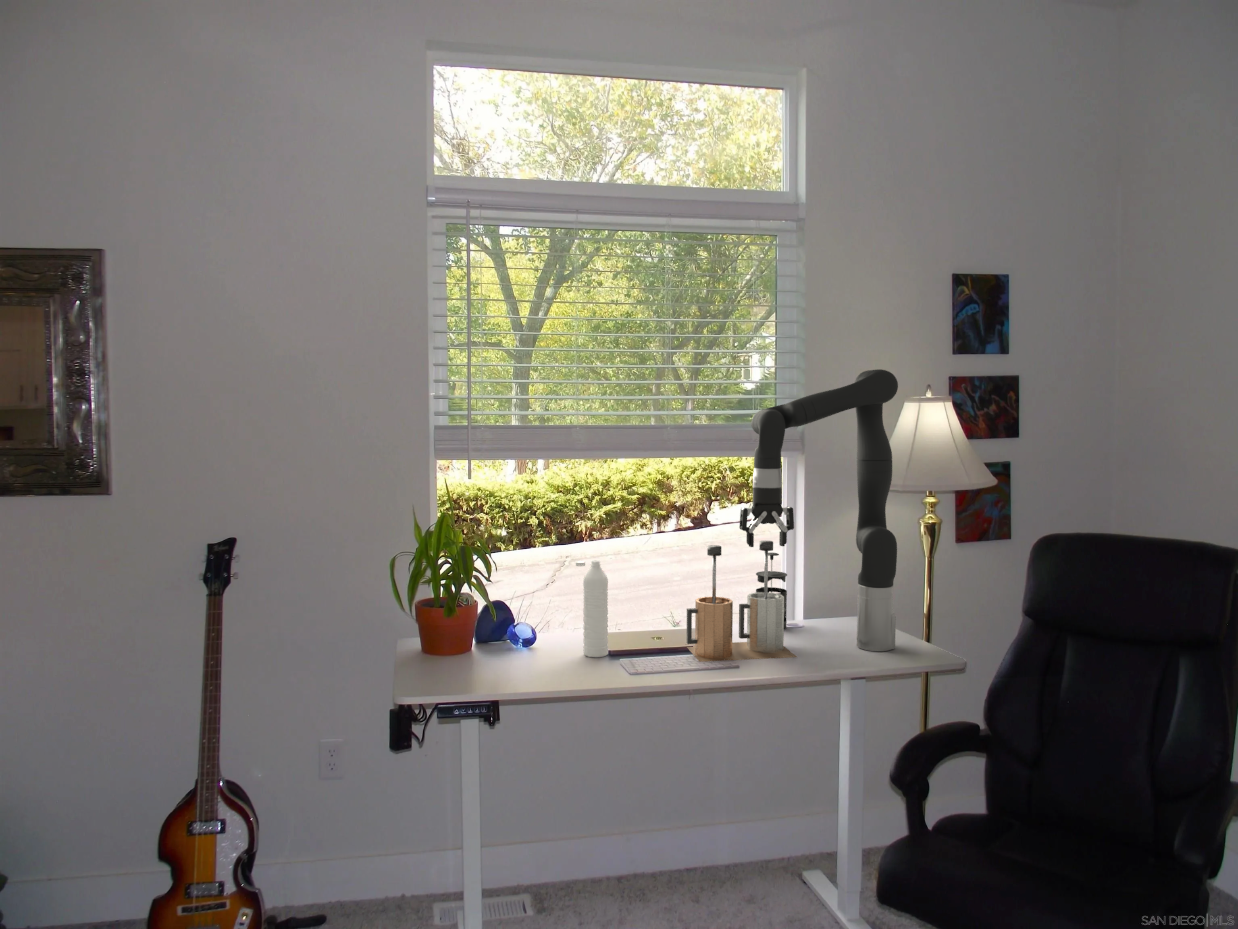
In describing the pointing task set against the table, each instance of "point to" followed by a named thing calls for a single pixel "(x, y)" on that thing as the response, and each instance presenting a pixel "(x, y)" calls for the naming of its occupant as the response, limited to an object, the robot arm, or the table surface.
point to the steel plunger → (766, 565)
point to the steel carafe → (763, 622)
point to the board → (745, 653)
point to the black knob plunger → (714, 568)
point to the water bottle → (595, 611)
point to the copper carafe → (711, 627)
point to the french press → (771, 589)
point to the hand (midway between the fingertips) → (766, 546)
